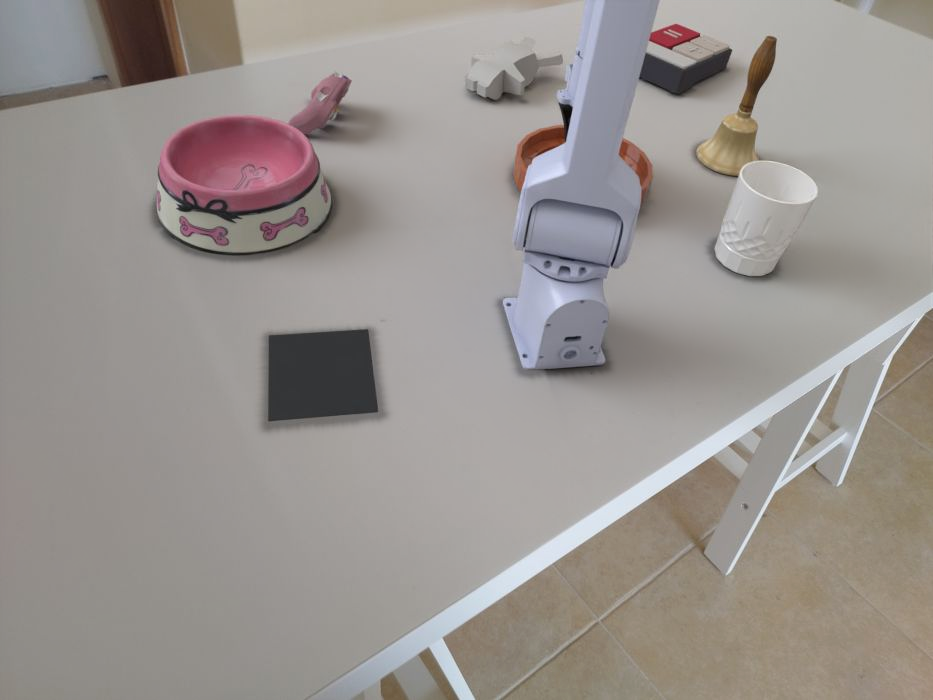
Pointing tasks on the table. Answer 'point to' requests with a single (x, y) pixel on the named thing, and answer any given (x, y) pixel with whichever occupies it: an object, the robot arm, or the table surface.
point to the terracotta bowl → (555, 137)
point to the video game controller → (322, 103)
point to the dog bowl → (240, 186)
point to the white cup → (763, 216)
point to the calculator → (682, 58)
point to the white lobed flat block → (508, 68)
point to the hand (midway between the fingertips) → (577, 167)
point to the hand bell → (740, 121)
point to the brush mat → (320, 375)
